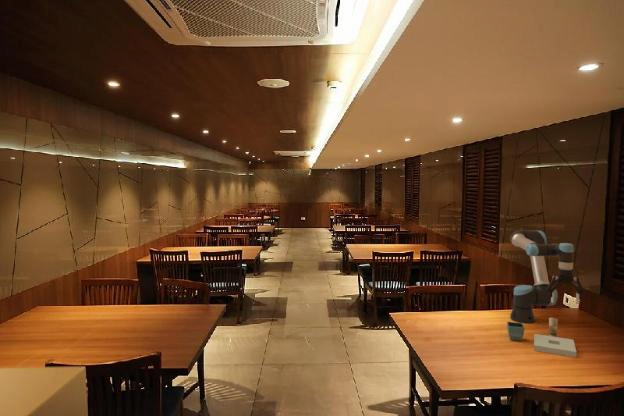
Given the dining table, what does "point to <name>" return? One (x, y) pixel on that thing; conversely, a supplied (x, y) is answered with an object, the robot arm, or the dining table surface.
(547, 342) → the board
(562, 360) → the dining table surface
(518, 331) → the flower pot
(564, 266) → the robot arm
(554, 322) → the peg
